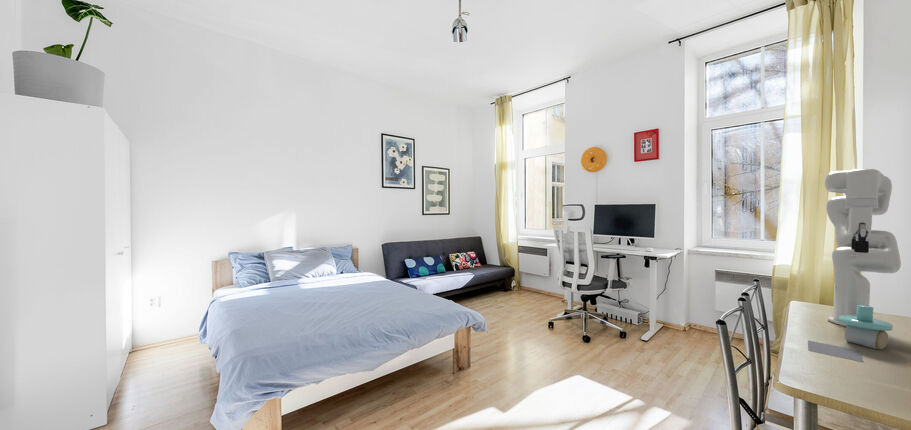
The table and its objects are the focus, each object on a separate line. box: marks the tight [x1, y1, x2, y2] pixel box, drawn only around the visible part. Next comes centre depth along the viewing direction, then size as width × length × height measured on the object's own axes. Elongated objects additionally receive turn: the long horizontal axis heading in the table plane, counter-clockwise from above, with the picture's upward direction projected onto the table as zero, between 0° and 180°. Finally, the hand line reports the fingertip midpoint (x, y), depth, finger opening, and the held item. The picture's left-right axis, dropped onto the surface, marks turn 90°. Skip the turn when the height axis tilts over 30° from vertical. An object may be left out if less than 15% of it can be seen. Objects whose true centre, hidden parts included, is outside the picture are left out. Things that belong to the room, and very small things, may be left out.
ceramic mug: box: [844, 324, 889, 351], centre depth 119 cm, size 11×8×8 cm
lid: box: [839, 305, 894, 332], centre depth 118 cm, size 12×12×6 cm
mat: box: [807, 340, 865, 363], centre depth 114 cm, size 12×12×1 cm
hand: (859, 251), depth 123 cm, fingers open, 9 cm apart
